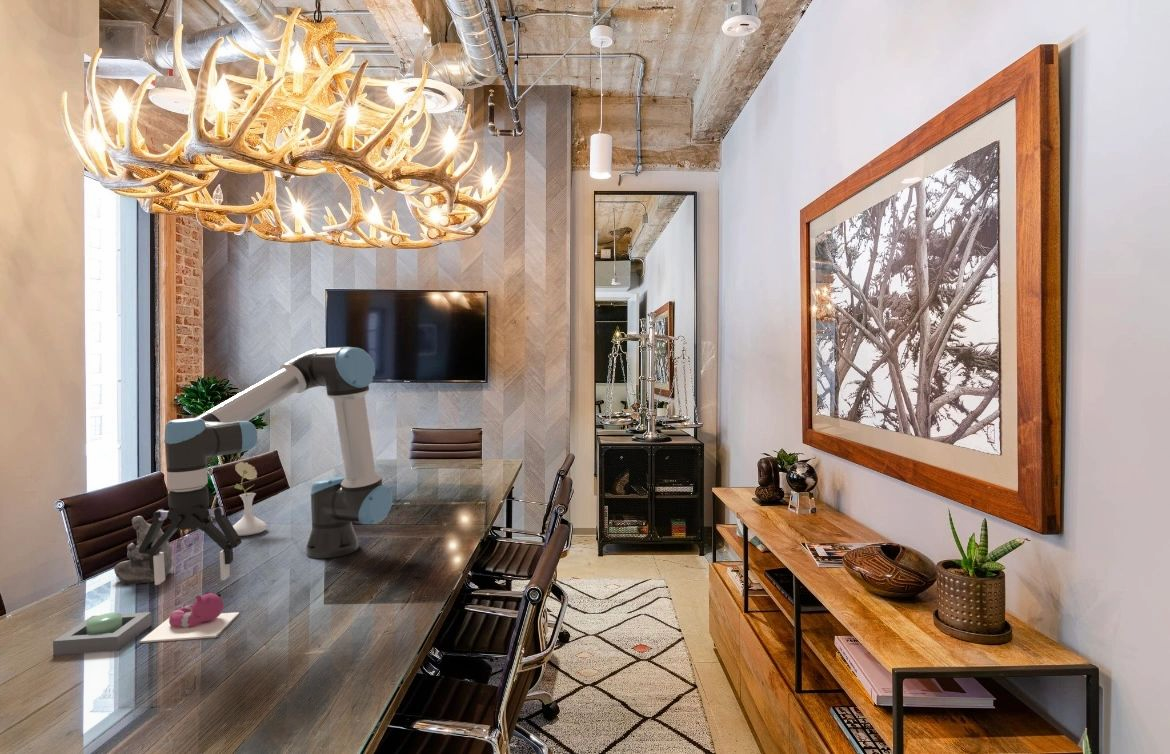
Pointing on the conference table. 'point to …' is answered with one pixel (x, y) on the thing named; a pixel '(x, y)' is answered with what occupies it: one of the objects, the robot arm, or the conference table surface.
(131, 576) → the figurine
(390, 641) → the conference table surface
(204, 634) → the paper sheet
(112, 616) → the button
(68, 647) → the button housing
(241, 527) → the flower in vase
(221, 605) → the toy
